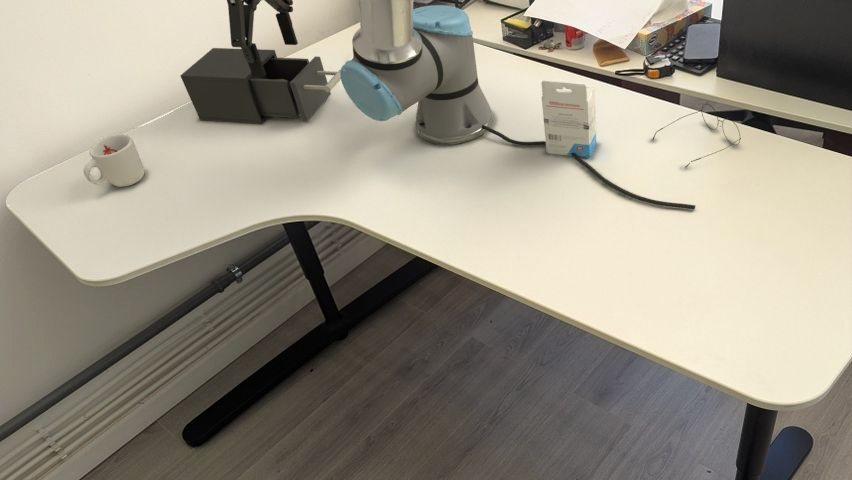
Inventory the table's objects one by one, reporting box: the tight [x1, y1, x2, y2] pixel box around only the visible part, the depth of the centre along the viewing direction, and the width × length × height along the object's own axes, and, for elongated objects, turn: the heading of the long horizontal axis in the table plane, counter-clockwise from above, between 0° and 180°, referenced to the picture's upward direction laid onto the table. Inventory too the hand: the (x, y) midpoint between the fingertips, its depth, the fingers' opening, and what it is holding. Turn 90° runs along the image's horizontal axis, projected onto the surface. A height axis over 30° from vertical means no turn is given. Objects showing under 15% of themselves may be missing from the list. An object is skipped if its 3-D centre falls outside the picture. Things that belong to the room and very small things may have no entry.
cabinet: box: [180, 47, 278, 125], centre depth 157 cm, size 16×13×11 cm
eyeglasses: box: [651, 103, 742, 169], centre depth 129 cm, size 11×13×5 cm
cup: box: [83, 133, 145, 188], centre depth 140 cm, size 11×8×8 cm
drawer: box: [248, 55, 341, 123], centre depth 153 cm, size 21×11×9 cm, turn 74°
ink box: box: [541, 80, 597, 159], centre depth 129 cm, size 9×5×15 cm, turn 68°
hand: (276, 59), depth 149 cm, fingers open, 13 cm apart
